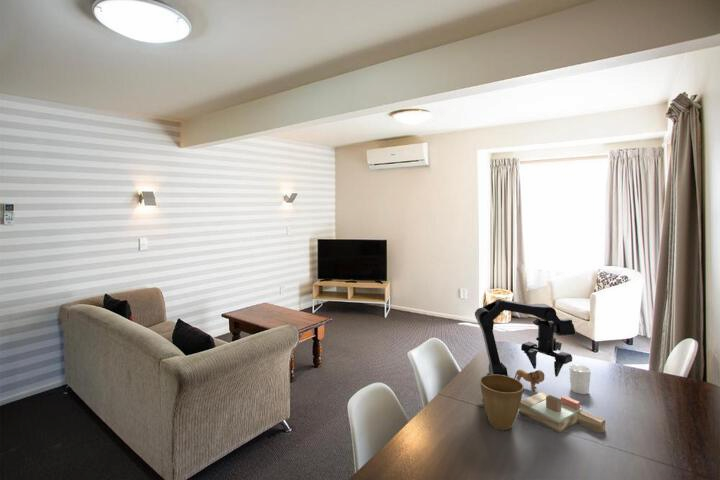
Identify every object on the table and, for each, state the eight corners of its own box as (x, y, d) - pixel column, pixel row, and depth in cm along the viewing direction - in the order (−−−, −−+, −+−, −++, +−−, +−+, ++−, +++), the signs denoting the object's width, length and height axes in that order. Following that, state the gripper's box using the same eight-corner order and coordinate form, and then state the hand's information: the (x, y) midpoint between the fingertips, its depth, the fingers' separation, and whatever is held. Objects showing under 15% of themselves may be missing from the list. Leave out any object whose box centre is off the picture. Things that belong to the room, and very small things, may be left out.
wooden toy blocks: (582, 444, 119) (582, 432, 119) (519, 412, 140) (519, 401, 140) (605, 430, 127) (605, 418, 127) (542, 401, 148) (542, 391, 147)
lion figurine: (546, 389, 158) (546, 369, 157) (542, 393, 154) (542, 373, 154) (513, 379, 168) (513, 361, 168) (508, 383, 165) (508, 364, 164)
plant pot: (497, 440, 123) (496, 395, 122) (472, 417, 137) (472, 377, 136) (532, 432, 127) (532, 388, 126) (505, 411, 141) (505, 371, 140)
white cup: (584, 386, 160) (584, 364, 159) (594, 395, 152) (594, 372, 151) (566, 386, 161) (566, 364, 160) (574, 394, 153) (574, 371, 152)
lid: (558, 424, 126) (559, 409, 126) (529, 410, 136) (529, 396, 136) (582, 412, 134) (582, 397, 133) (553, 399, 143) (553, 386, 143)
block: (576, 409, 133) (576, 403, 132) (560, 402, 138) (560, 396, 138) (580, 408, 134) (580, 402, 134) (564, 401, 139) (564, 395, 139)
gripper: (579, 337, 143) (579, 375, 144) (535, 326, 158) (535, 360, 159) (565, 343, 137) (564, 382, 138) (520, 331, 152) (520, 366, 153)
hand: (545, 372), depth 147 cm, fingers open, 9 cm apart
